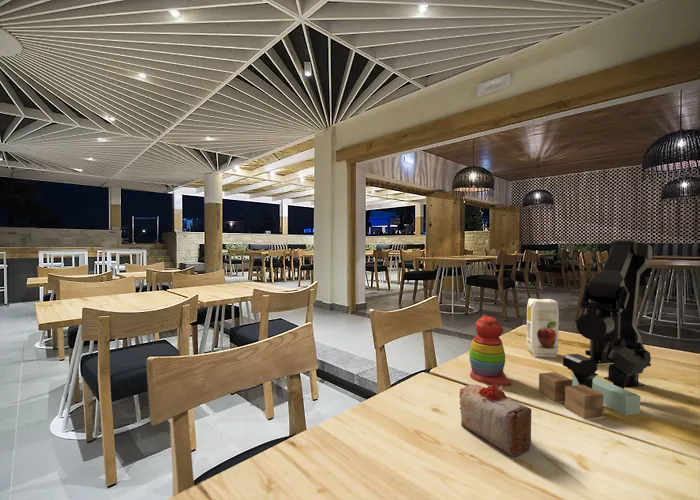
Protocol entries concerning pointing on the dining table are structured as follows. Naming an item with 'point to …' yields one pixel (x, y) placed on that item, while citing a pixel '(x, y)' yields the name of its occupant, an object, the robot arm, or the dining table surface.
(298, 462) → the dining table surface
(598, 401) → the pillar
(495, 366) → the stacking bear
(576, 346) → the dining table surface
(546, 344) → the juice carton
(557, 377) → the pillar
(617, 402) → the beam
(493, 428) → the food item
